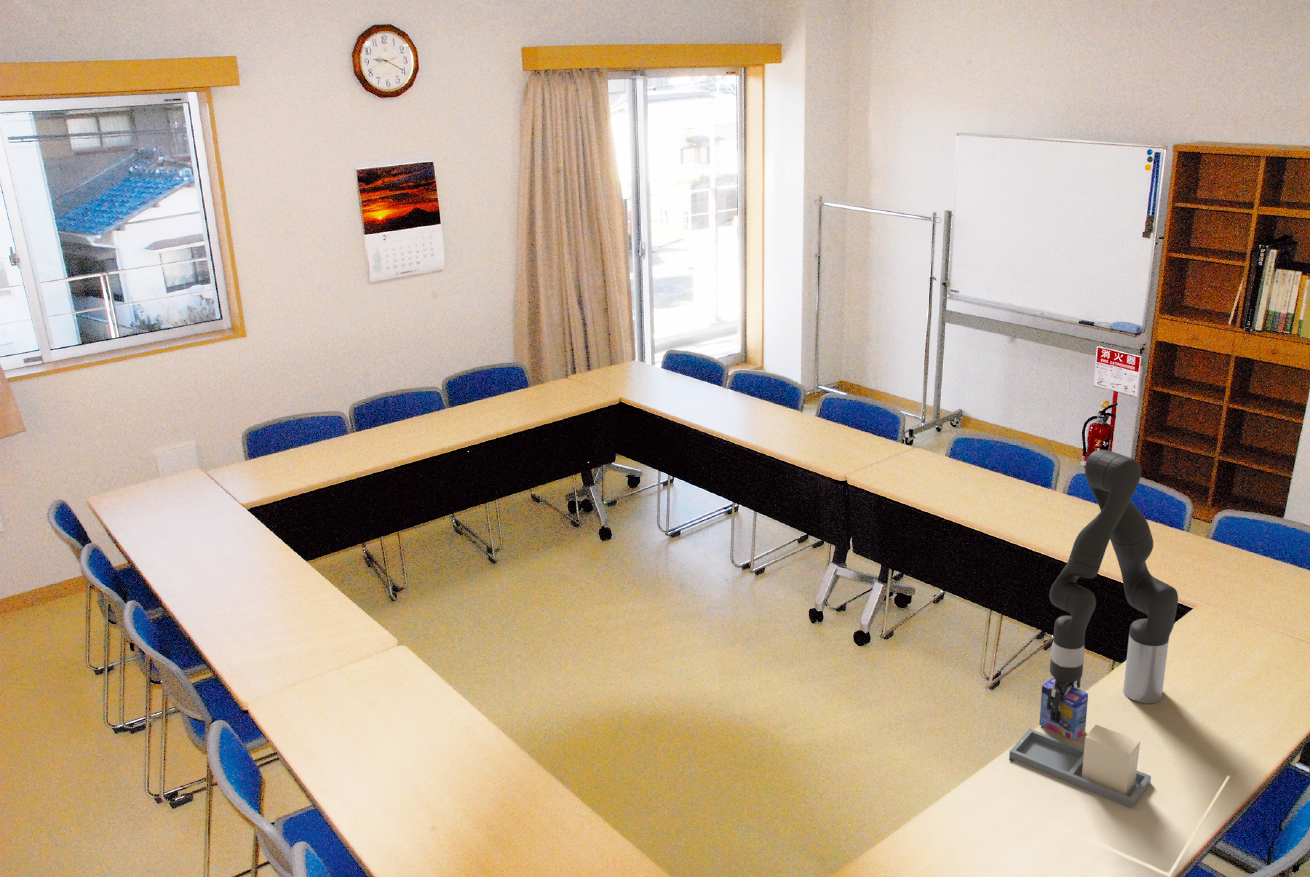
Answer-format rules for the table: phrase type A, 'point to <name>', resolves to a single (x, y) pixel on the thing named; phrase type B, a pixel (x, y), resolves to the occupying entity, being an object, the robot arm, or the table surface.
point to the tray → (1069, 765)
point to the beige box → (1110, 759)
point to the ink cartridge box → (1066, 712)
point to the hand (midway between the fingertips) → (1062, 713)
